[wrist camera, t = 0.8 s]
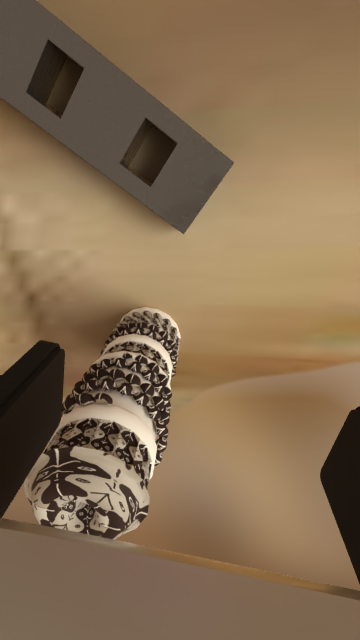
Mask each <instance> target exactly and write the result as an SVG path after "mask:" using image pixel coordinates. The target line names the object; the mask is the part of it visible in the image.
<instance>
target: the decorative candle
mask: <svg viewBox="0 0 360 640" xmlns="http://www.w3.org/2000/svg"><path fill="white" fill-rule="evenodd" d="M116 327H117V328H114V329H113V334H111V335H110V336H109V340H107V341H106V342H105V349H103V350H102V351H101V357H100V358H99V359H98V360H97V361H95V362H94V363H93V364H92V366H91V367H90V368H89V371H87V372H86V373H85V374H84V375H83V378H82V381H79V382H77V383H76V384H75V386H74V389H73V390H72V394H70V395H68V396H67V398H66V400H65V401H64V402H63V404H62V415H63V414H64V416H63V418H62V419H61V421H60V424H59V426H58V428H57V429H56V431H55V433H54V434H53V436H52V437H51V439H50V441H49V442H48V447H47V448H46V450H45V452H44V454H43V455H41V456H40V457H39V458H38V460H37V461H36V463H35V465H34V466H33V468H32V470H31V471H30V473H29V474H28V476H27V478H26V479H25V481H24V484H25V494H26V496H27V498H28V500H29V501H30V503H31V505H32V509H33V513H34V515H35V517H36V518H37V520H38V522H39V523H40V525H42V526H48V527H53V528H58V529H64V530H69V531H74V532H79V533H84V534H89V535H93V536H98V537H103V538H108V539H113V540H115V539H117V538H118V537H119V536H121V535H122V534H125V533H127V532H129V531H131V530H133V529H136V528H137V527H138V525H139V524H140V523H141V522H142V521H143V519H144V518H145V517H146V516H147V513H148V507H149V500H150V497H149V495H148V492H147V488H148V483H149V480H150V479H151V477H152V475H153V469H154V466H156V465H158V464H159V463H160V462H161V460H162V454H161V452H163V451H164V450H165V449H166V446H167V441H166V438H167V437H168V429H167V428H166V425H167V424H168V423H169V416H170V413H169V411H170V408H171V404H170V398H171V397H172V392H171V387H170V381H171V377H173V376H174V375H175V368H176V365H177V364H176V363H177V360H178V354H179V349H180V347H179V345H180V337H181V336H180V333H179V329H178V326H177V324H176V323H175V322H174V320H173V319H172V318H171V317H170V315H168V314H166V313H165V312H163V311H161V310H159V309H156V308H150V307H142V308H137V309H133V310H131V311H130V312H129V313H127V314H126V315H124V316H123V317H122V319H121V321H120V323H118V324H117V326H116ZM157 434H158V435H159V439H158V440H157V441H155V440H156V437H157V436H156V435H157Z"/></svg>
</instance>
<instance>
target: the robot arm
mask: <svg viewBox="0 0 360 640" xmlns="http://www.w3.org/2000/svg"><path fill="white" fill-rule="evenodd" d="M64 360H65V351H64V349H60V345H59V344H57V343H52V342H47V341H43V340H40V341H39V342H37V343H36V344H35V345H34V346H33V347H32V348H31V349H30V350H29V351H28V352H27V353H25V354H24V355H23V356H22V357H21V358H20V359H19V360H18V361H17V362H16V363H15V364H14V365H13V366H11V367H10V368H9V369H8V370H7V371H6V372H5V373H4V374H3V375H0V640H360V591H357V590H352V589H348V588H343V587H339V586H334V585H329V584H324V583H320V582H315V581H311V580H306V579H301V578H297V577H292V576H287V575H283V574H277V573H273V572H268V571H264V570H259V569H254V568H249V567H244V566H239V565H235V564H230V563H225V562H220V561H216V560H211V559H206V558H201V557H196V556H192V555H187V554H182V553H177V552H172V551H168V550H163V549H158V548H153V547H148V546H143V545H138V544H133V543H128V542H123V541H118V540H113V539H108V538H103V537H98V536H93V535H89V534H84V533H79V532H74V531H69V530H64V529H58V528H53V527H48V526H42V525H37V524H31V523H26V522H20V521H15V520H9V519H4V518H2V516H3V515H4V513H5V511H6V510H7V508H8V506H9V505H10V503H11V502H12V500H13V499H14V497H15V495H16V494H17V492H18V490H19V489H20V487H21V486H22V484H23V482H24V481H25V479H26V478H27V476H28V474H29V473H30V471H31V470H32V468H33V466H34V465H35V463H36V461H37V460H38V458H39V457H40V455H41V453H42V452H43V450H44V449H45V447H46V445H47V444H48V442H49V441H50V439H51V437H52V436H53V434H54V433H55V431H56V429H57V428H58V426H59V424H60V421H61V417H62V400H63V380H64ZM320 478H321V482H322V485H323V488H324V490H325V493H326V496H327V498H328V501H329V503H330V506H331V509H332V512H333V514H334V517H335V520H336V522H337V525H338V528H339V530H340V533H341V536H342V538H343V541H344V543H345V546H346V549H347V552H348V554H349V557H350V559H351V562H352V565H353V568H354V570H355V573H356V575H357V578H358V581H359V584H360V407H357V408H356V409H355V410H351V412H350V413H349V415H348V417H347V419H346V421H345V423H344V425H343V427H342V429H341V431H340V433H339V435H338V437H337V439H336V441H335V443H334V445H333V447H332V449H331V451H330V453H329V455H328V457H327V459H326V461H325V463H324V465H323V467H322V469H321V473H320Z"/></svg>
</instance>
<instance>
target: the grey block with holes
mask: <svg viewBox="0 0 360 640" xmlns="http://www.w3.org/2000/svg"><path fill="white" fill-rule="evenodd" d="M66 57H68V58H70V59H71V60H72V61H73V62H75V63H76V64H77V65H78V66H80V67H81V68H82V69H83V72H82V74H81V77H80V79H79V81H78V83H77V85H76V87H75V89H74V92H73V94H72V96H71V98H70V100H69V102H68V104H67V106H66V109H65V111H64V113H63V115H62V114H60V113H59V112H58V111H56V110H55V109H54V108H53V107H51V106H50V105H49V104H47V103H46V102H47V100H48V98H49V95H50V93H51V91H52V89H53V86H54V84H55V82H56V80H57V77H58V75H59V73H60V71H61V68H62V66H63V64H64V62H65V59H66ZM0 97H1V98H2V99H4V100H5V101H6V102H8V103H9V104H10V105H12V106H13V107H14V108H16V109H17V110H18V111H20V112H21V113H22V114H24V115H25V116H26V117H28V118H29V119H30V120H32V121H33V122H34V123H36V124H37V125H38V126H40V127H41V128H42V129H44V130H45V131H46V132H48V133H49V134H50V135H52V136H53V137H54V138H56V139H57V140H58V141H60V142H61V143H62V144H64V145H65V146H66V147H68V148H69V149H70V150H72V151H73V152H74V153H76V154H77V155H79V156H80V157H81V158H83V159H84V160H85V161H87V162H88V163H89V164H91V165H92V166H93V167H95V168H96V169H97V170H99V171H100V172H101V173H103V174H104V175H105V176H107V177H108V178H109V179H111V180H112V181H113V182H115V183H116V184H117V185H119V186H120V187H121V188H123V189H124V190H125V191H127V192H128V193H129V194H131V195H132V196H133V197H135V198H136V199H137V200H139V201H140V202H141V203H143V204H144V205H145V206H147V207H148V208H149V209H151V210H152V211H153V212H155V213H156V214H157V215H159V216H160V217H161V218H163V219H164V220H165V221H167V222H168V223H169V224H171V225H172V226H174V227H175V228H176V229H178V230H179V231H180V232H182V233H183V234H184V233H185V232H186V230H187V229H188V227H189V226H190V225H191V223H192V222H193V220H194V219H195V217H196V216H197V215H198V213H199V212H200V210H201V209H202V208H203V206H204V205H205V203H206V202H207V200H208V199H209V198H210V196H211V195H212V193H213V192H214V191H215V189H216V188H217V186H218V185H219V183H220V182H221V181H222V179H223V178H224V176H225V175H226V173H227V172H228V171H229V169H230V168H231V166H232V165H233V164H234V162H233V161H231V160H230V159H229V158H228V157H226V156H225V155H224V154H223V153H222V152H220V151H219V150H218V149H217V148H215V147H214V146H213V145H212V144H211V143H209V142H208V141H207V140H206V139H204V138H203V137H202V136H201V135H200V134H198V133H197V132H196V131H195V130H193V129H192V128H191V127H190V126H189V125H187V124H186V123H185V122H184V121H182V120H181V119H180V118H179V117H178V116H176V115H175V114H174V113H173V112H171V111H170V110H169V109H168V108H167V107H165V106H164V105H163V104H162V103H160V102H159V101H158V100H157V99H156V98H154V97H153V96H152V95H151V94H149V93H148V92H147V91H146V90H145V89H143V88H142V87H141V86H140V85H138V84H137V83H136V82H135V81H134V80H132V79H131V78H130V77H129V76H127V75H126V74H125V73H124V72H123V71H121V70H120V69H119V68H118V67H116V66H115V65H114V64H113V63H112V62H110V61H109V60H108V59H107V58H106V57H104V56H103V55H102V54H101V53H99V52H98V51H97V50H96V49H95V48H93V47H92V46H91V45H90V44H88V43H87V42H86V41H85V40H84V39H82V38H81V37H80V36H79V35H77V34H76V33H75V32H74V31H73V30H71V29H70V28H69V27H68V26H66V25H65V24H64V23H63V22H62V21H60V20H59V19H58V18H57V17H55V16H54V15H53V14H52V13H51V12H49V11H48V10H47V9H46V8H44V7H43V6H42V5H41V4H40V3H38V2H37V1H36V0H0ZM152 125H153V126H155V127H156V128H157V129H158V130H160V131H161V132H162V133H163V134H165V135H166V136H167V137H168V138H170V139H171V140H172V141H173V142H175V143H176V144H177V146H176V147H175V149H174V150H173V152H172V154H171V155H170V157H169V158H168V160H167V162H166V163H165V165H164V166H163V168H162V170H161V171H160V173H159V175H158V176H157V178H156V179H155V181H154V183H153V184H152V183H151V182H149V181H148V180H147V179H145V178H144V177H143V176H142V175H140V174H139V173H138V172H136V171H135V170H134V169H132V168H131V167H130V166H129V164H130V163H131V161H132V159H133V158H134V156H135V154H136V152H137V151H138V149H139V147H140V145H141V144H142V142H143V140H144V139H145V137H146V135H147V133H148V132H149V130H150V128H151V126H152Z"/></svg>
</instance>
